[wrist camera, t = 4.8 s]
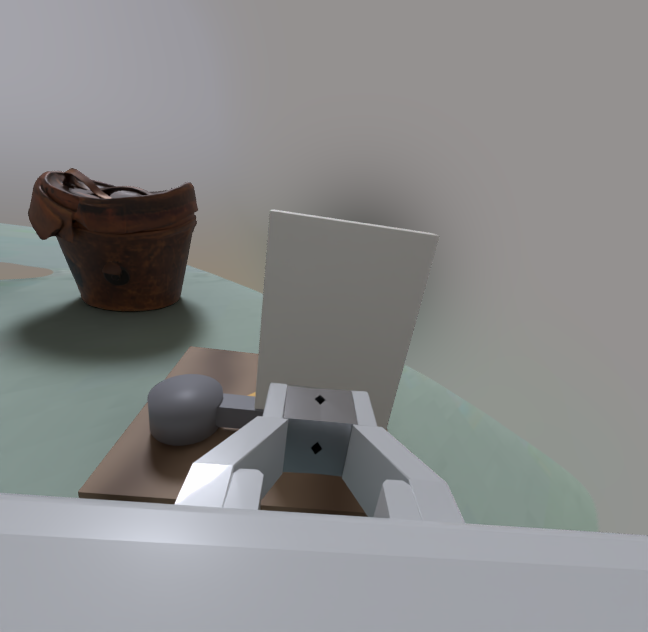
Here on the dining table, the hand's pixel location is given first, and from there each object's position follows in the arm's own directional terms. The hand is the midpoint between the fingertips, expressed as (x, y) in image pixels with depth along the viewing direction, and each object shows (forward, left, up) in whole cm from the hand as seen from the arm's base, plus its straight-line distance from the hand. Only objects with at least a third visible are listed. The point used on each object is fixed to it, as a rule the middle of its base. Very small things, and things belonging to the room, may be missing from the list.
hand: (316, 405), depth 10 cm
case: (-47, -3, -14) cm, 49 cm away
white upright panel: (-11, +4, -11) cm, 16 cm away
